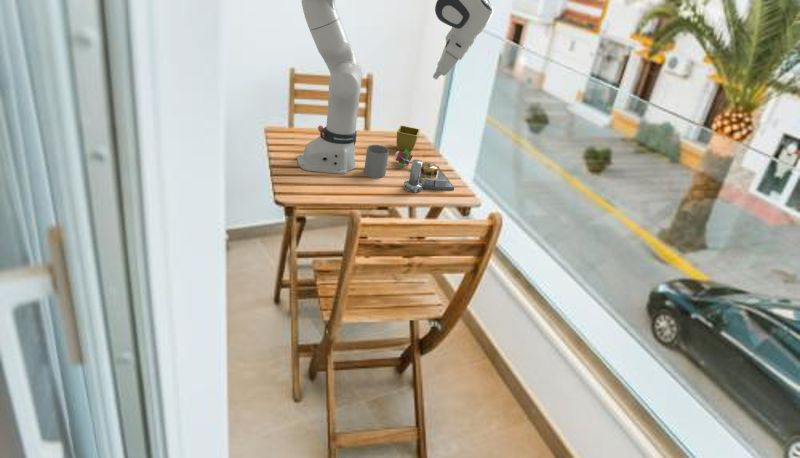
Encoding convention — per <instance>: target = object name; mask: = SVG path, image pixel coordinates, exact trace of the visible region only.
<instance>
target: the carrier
mask: <svg viewBox="0 0 800 458" xmlns="http://www.w3.org/2000/svg"><path fill="white" fill-rule="evenodd" d="M419 183H422V188H423V190H424V191H425V190H427V191H428V190H429V191H431V190H432V191H436V190H437V191H454V190H455V185H454V184H453V183H452V182H451V181H450V180H449V178H448V177H447V176H446V175H445V173H444V172H443V171H442V170H441V168H440V167H439V172H438V174H434V175H431V174H425V173H424V172H423V171H421V172H420V177H419Z"/></svg>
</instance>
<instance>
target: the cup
mask: <svg viewBox="0 0 800 458" xmlns="http://www.w3.org/2000/svg"><path fill="white" fill-rule="evenodd" d="M389 153H390V150H389V148H387V147H386V146H383V145H379V144H370V145H368V146H366V152H365V161H364V168H363V173H364V175H365V176H367V177H369V178H372V179H382V178H384V177H386V172H387V167H388V160H389Z"/></svg>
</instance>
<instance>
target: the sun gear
mask: <svg viewBox="0 0 800 458" xmlns="http://www.w3.org/2000/svg"><path fill="white" fill-rule="evenodd" d="M439 168H440V166H439V165H437V164H436V163H434V162H429V161H425V162H422V167H421V171H423V172H424V173H425V174H431V175H434V174H438V172H439Z"/></svg>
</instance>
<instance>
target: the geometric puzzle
mask: <svg viewBox="0 0 800 458" xmlns="http://www.w3.org/2000/svg"><path fill="white" fill-rule="evenodd" d="M413 156H414V155H412V153H411V152H409V151H408V150H407V149H405V151H402V150H401V151H400V150H397V151H396V152H395V154H394V160H395V162H396V163H398V165H399V166H400V167H401V168H405V167H406V166H409V165H410V164H412V161H413V160H412V159H413Z"/></svg>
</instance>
